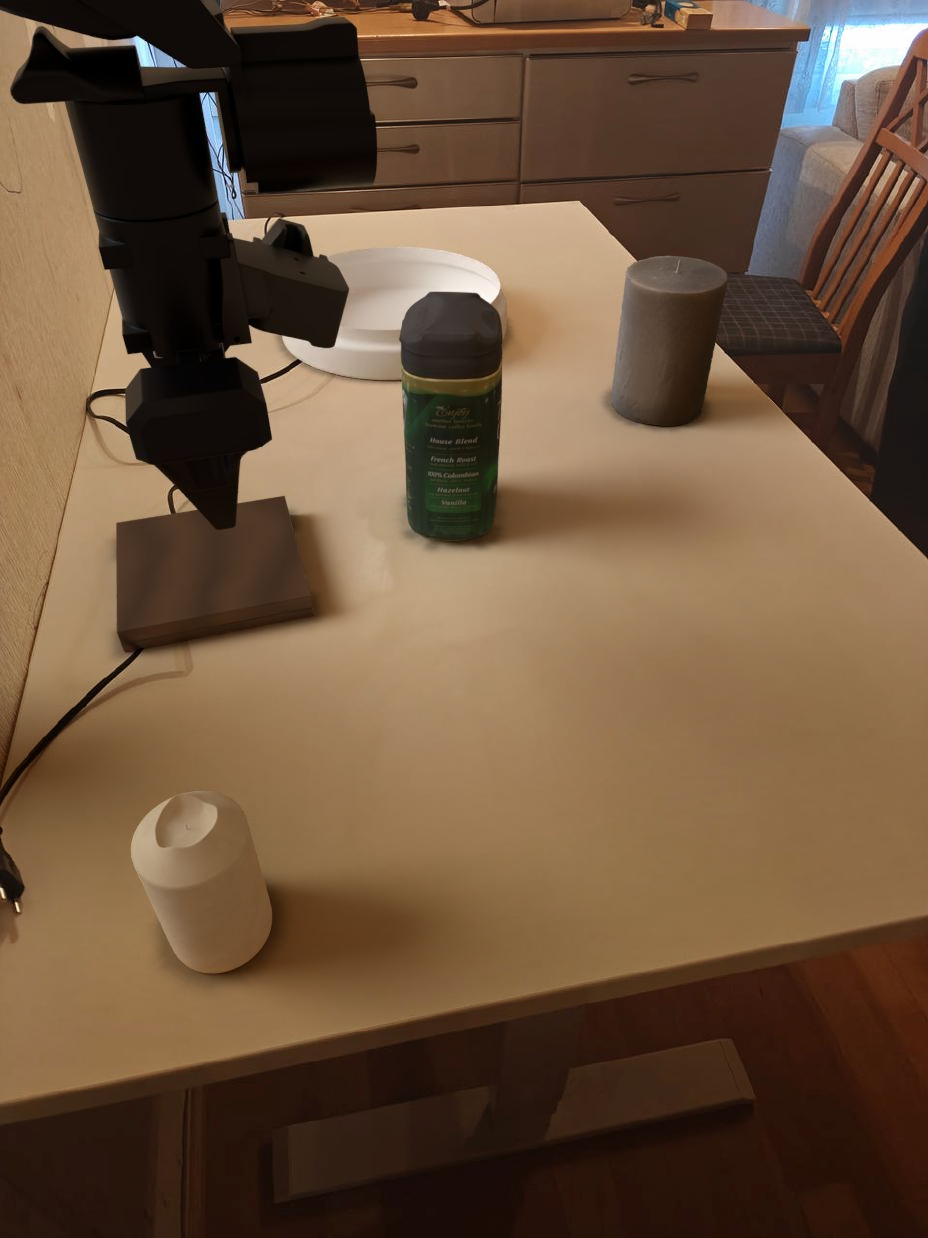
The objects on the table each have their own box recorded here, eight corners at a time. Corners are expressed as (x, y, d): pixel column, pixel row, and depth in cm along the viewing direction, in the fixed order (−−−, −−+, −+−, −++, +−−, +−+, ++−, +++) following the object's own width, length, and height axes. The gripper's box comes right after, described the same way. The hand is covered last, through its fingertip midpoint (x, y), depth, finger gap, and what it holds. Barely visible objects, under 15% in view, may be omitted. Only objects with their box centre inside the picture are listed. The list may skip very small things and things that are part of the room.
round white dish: (525, 297, 113) (528, 254, 109) (476, 393, 93) (477, 345, 89) (329, 278, 118) (325, 236, 114) (244, 365, 98) (236, 318, 94)
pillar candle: (719, 419, 89) (752, 271, 79) (632, 433, 87) (654, 283, 77) (676, 377, 96) (701, 236, 86) (594, 389, 94) (610, 246, 84)
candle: (167, 896, 49) (121, 787, 42) (266, 870, 50) (235, 760, 43) (174, 988, 45) (123, 884, 38) (280, 958, 46) (249, 852, 40)
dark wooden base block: (123, 652, 64) (116, 632, 62) (122, 541, 74) (115, 522, 72) (313, 615, 67) (310, 595, 65) (287, 514, 77) (284, 495, 75)
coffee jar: (498, 546, 73) (506, 334, 61) (404, 545, 73) (392, 333, 61) (497, 483, 80) (503, 281, 68) (411, 482, 80) (402, 280, 68)
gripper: (365, 252, 36) (387, 552, 46) (297, 140, 49) (326, 392, 60) (82, 281, 34) (172, 590, 44) (91, 155, 47) (159, 415, 57)
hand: (218, 483), depth 51 cm, fingers open, 9 cm apart
